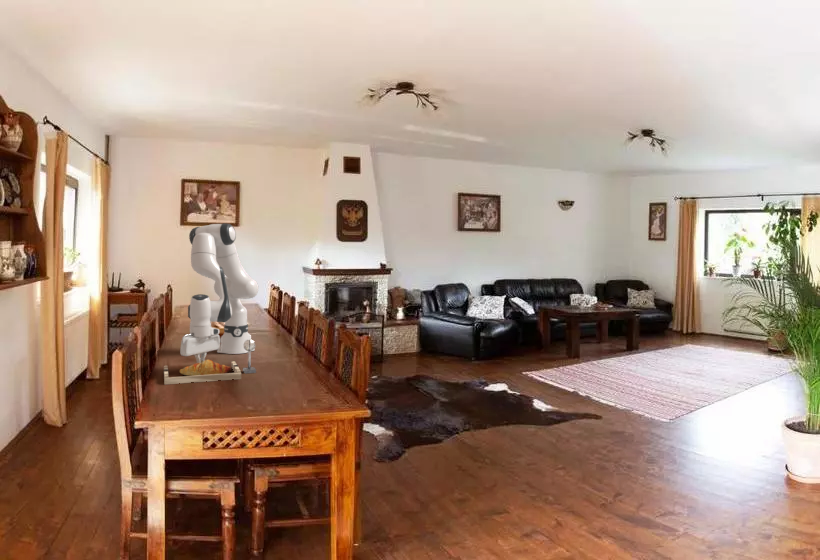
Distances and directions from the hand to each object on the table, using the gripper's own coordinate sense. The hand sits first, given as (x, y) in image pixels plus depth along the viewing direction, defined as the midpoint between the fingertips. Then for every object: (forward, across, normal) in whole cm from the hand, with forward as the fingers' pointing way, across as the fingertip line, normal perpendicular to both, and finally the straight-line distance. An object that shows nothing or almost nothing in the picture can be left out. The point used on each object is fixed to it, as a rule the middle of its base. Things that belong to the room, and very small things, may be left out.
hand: (200, 362), depth 256 cm
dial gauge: (+4, +11, -18) cm, 21 cm away
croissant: (+5, -2, -5) cm, 7 cm away
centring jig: (+4, -4, -5) cm, 7 cm away
